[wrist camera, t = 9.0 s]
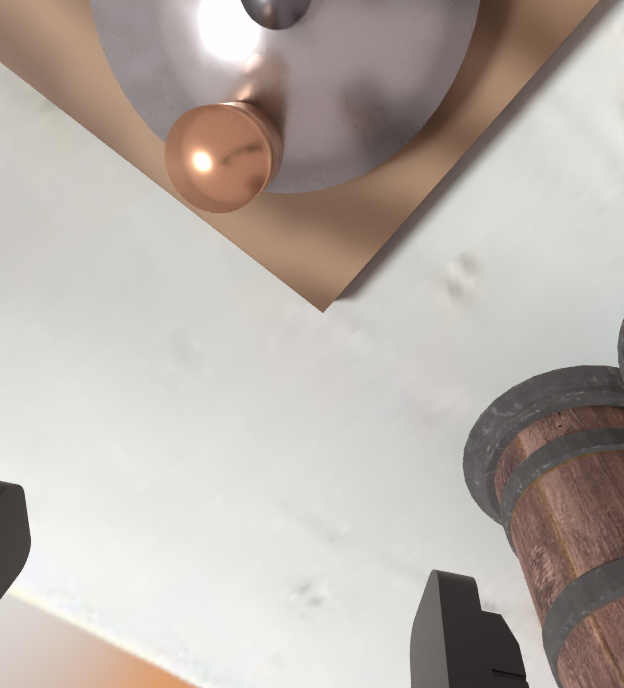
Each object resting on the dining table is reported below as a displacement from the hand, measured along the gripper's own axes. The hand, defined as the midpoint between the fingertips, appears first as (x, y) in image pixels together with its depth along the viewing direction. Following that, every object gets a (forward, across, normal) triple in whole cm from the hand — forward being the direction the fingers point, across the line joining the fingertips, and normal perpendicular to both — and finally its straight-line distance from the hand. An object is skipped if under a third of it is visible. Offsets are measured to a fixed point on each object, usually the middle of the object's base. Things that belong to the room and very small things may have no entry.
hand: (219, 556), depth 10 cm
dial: (+26, +5, -12) cm, 29 cm away
